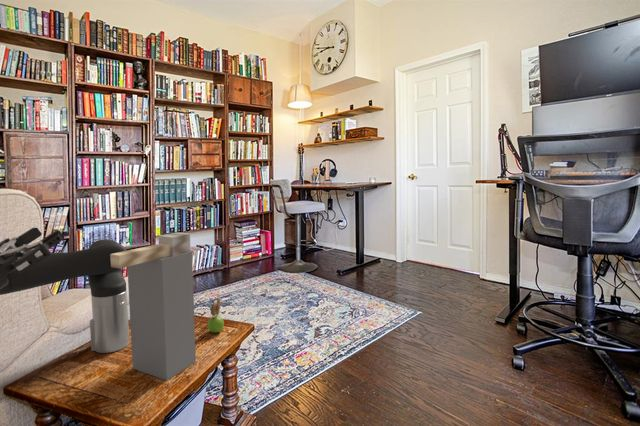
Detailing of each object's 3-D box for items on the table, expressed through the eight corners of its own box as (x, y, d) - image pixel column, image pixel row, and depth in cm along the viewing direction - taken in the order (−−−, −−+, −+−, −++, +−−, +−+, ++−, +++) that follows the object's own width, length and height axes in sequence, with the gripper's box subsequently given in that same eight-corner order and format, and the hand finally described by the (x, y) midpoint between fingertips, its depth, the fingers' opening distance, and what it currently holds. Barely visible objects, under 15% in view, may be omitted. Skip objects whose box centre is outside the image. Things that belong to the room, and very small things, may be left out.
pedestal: (167, 380, 89) (161, 258, 86) (132, 368, 95) (126, 253, 91) (195, 361, 98) (192, 250, 95) (163, 351, 104) (158, 246, 100)
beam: (122, 269, 77) (121, 247, 77) (108, 266, 79) (106, 245, 79) (190, 251, 95) (189, 233, 95) (177, 249, 97) (176, 232, 97)
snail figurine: (227, 327, 121) (226, 294, 119) (220, 335, 114) (219, 301, 113) (212, 326, 121) (211, 293, 120) (204, 335, 115) (203, 300, 114)
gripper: (-31, 277, 58) (58, 220, 70) (-68, 267, 64) (20, 216, 76) (0, 307, 62) (79, 248, 74) (-37, 295, 68) (42, 242, 80)
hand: (49, 232), depth 75 cm, fingers open, 8 cm apart
